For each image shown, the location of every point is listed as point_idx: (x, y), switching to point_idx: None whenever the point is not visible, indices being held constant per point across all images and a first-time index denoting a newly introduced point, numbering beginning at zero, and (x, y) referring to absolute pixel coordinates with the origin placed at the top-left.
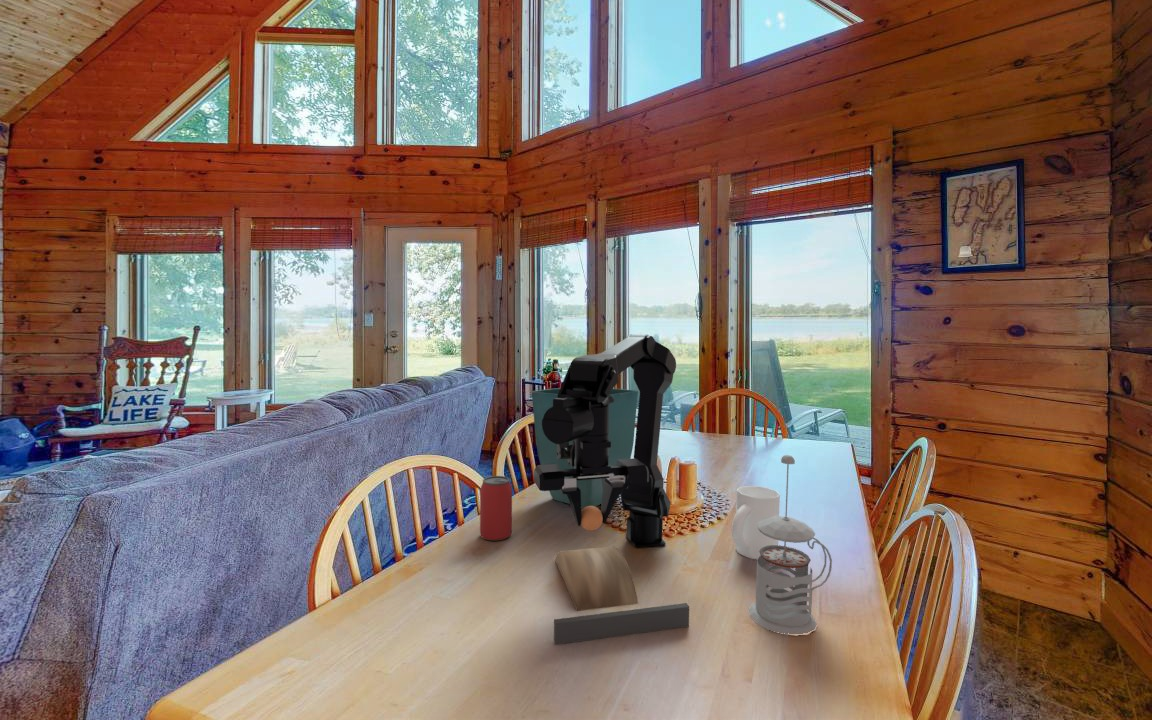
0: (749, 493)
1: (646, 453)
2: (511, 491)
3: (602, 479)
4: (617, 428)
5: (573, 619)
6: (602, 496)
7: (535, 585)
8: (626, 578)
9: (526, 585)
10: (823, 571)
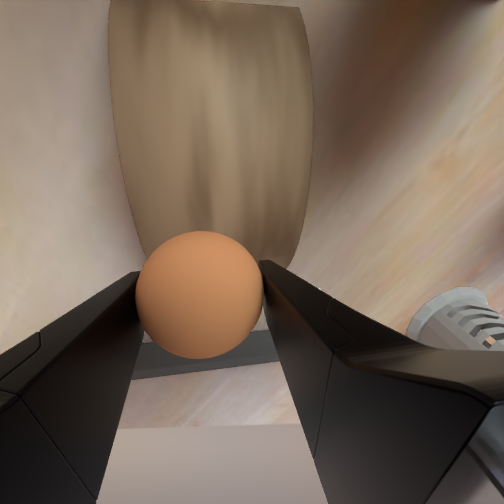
0: None
1: None
2: None
3: (436, 440)
4: None
5: (142, 375)
6: (307, 333)
7: (60, 170)
8: (278, 260)
9: (33, 166)
10: None
